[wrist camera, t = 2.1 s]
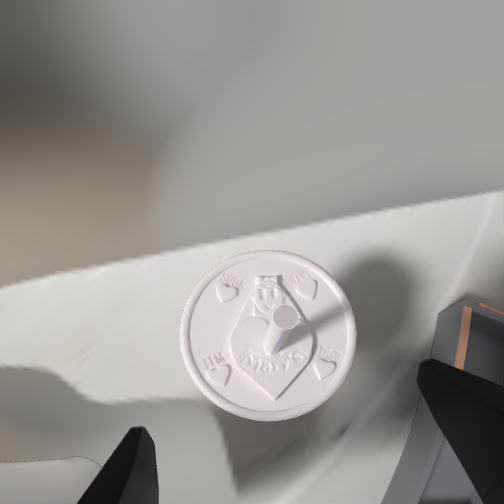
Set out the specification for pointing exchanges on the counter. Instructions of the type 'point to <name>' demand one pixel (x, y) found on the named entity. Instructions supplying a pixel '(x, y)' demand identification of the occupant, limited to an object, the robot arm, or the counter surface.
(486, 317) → the bottle caddy
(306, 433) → the counter surface
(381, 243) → the counter surface
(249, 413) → the smoothie
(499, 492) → the robot arm
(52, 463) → the drinking glass
